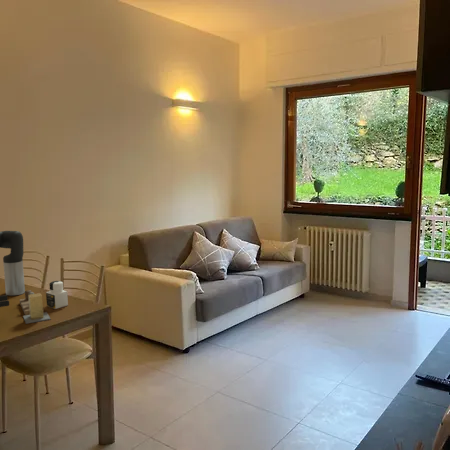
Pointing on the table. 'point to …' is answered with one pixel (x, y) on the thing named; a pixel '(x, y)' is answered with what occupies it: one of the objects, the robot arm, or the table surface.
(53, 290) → the medicine bottle
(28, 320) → the rubber mat
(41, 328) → the table surface
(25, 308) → the plane base
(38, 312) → the tan wooden block
